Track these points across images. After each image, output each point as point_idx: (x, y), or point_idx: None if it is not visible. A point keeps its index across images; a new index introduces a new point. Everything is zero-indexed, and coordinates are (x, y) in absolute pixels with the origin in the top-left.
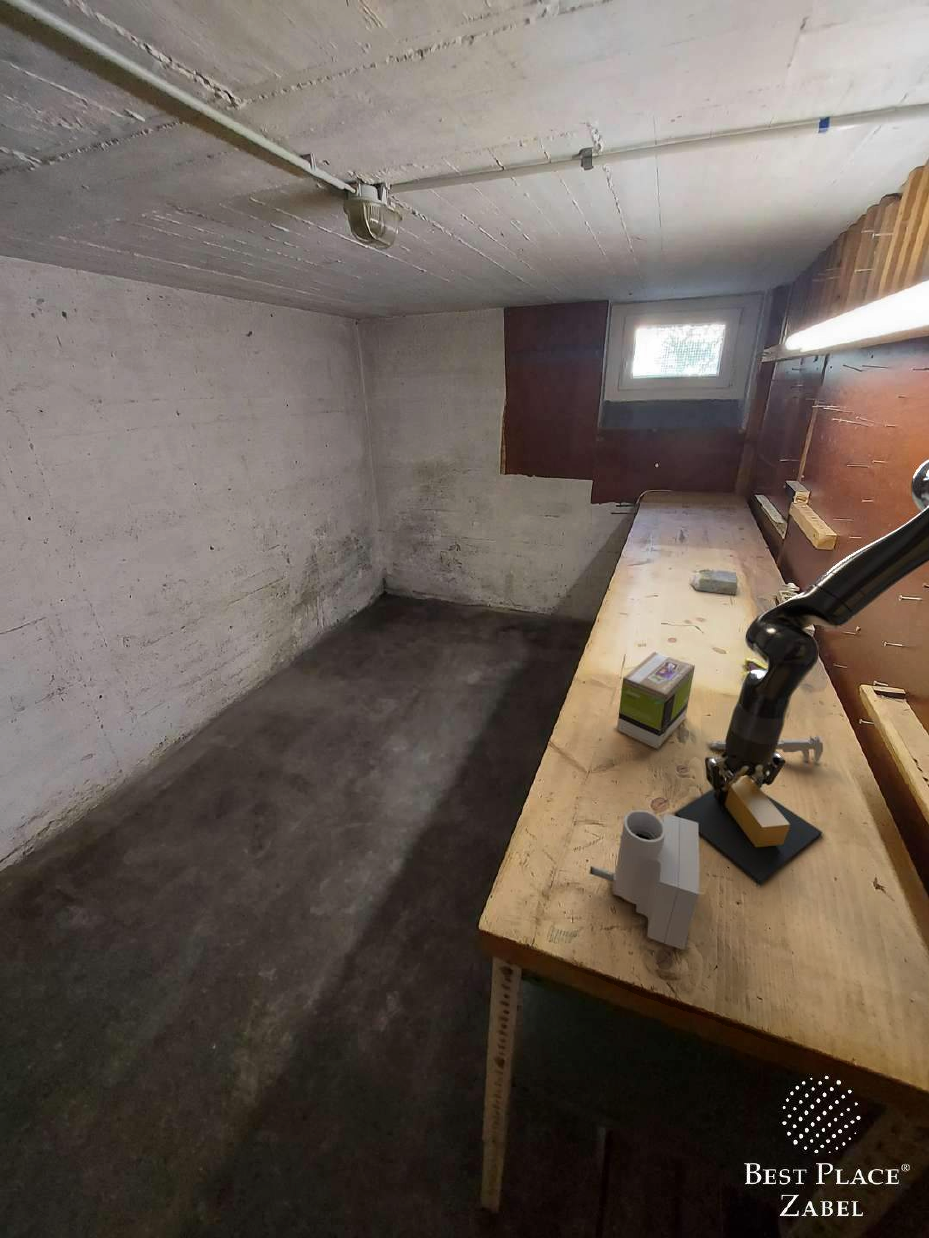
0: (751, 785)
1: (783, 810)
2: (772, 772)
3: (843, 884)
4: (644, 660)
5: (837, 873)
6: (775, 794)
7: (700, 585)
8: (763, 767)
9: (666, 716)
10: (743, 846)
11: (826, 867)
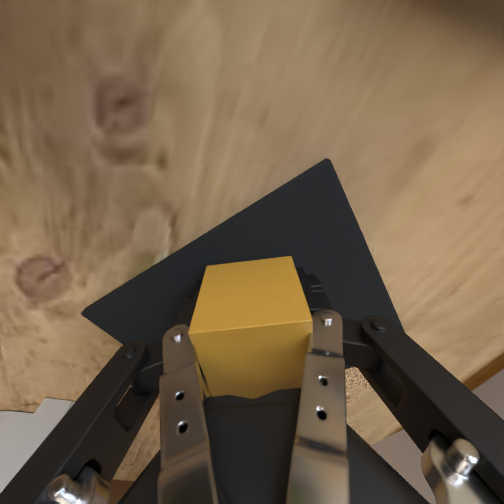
0: (290, 375)
1: (373, 301)
2: (403, 427)
3: (352, 403)
4: None
5: (359, 392)
6: (405, 237)
7: None
8: (398, 373)
9: None
10: None
11: (350, 386)
